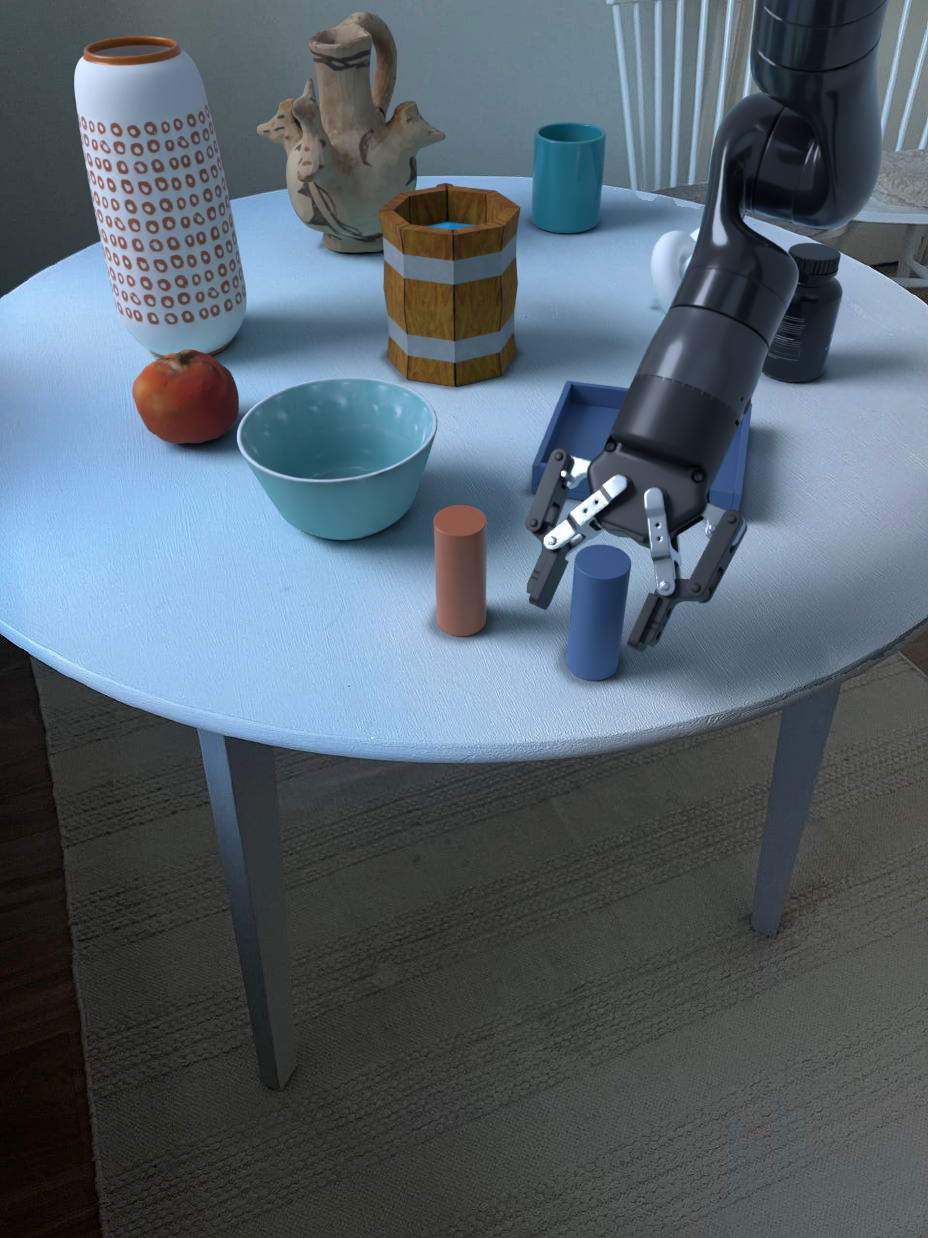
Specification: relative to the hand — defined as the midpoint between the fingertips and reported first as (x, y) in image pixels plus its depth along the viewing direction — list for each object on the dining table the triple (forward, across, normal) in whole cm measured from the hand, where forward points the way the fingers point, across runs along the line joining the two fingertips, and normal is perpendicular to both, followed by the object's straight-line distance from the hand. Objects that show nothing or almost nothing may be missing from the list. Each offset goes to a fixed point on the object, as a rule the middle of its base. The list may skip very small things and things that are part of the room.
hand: (585, 627), depth 66 cm
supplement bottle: (-33, -5, +39) cm, 51 cm away
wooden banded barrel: (-22, -37, +29) cm, 52 cm away
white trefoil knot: (-37, -19, +43) cm, 60 cm away
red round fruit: (-2, -46, +8) cm, 47 cm away
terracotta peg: (+3, -10, +3) cm, 11 cm away
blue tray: (-16, -9, +22) cm, 29 cm away
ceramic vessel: (-33, -64, +39) cm, 82 cm away
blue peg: (+2, 0, +4) cm, 5 cm away
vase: (-11, -60, +18) cm, 63 cm away
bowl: (-1, -26, +8) cm, 27 cm away
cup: (-49, -46, +56) cm, 87 cm away
